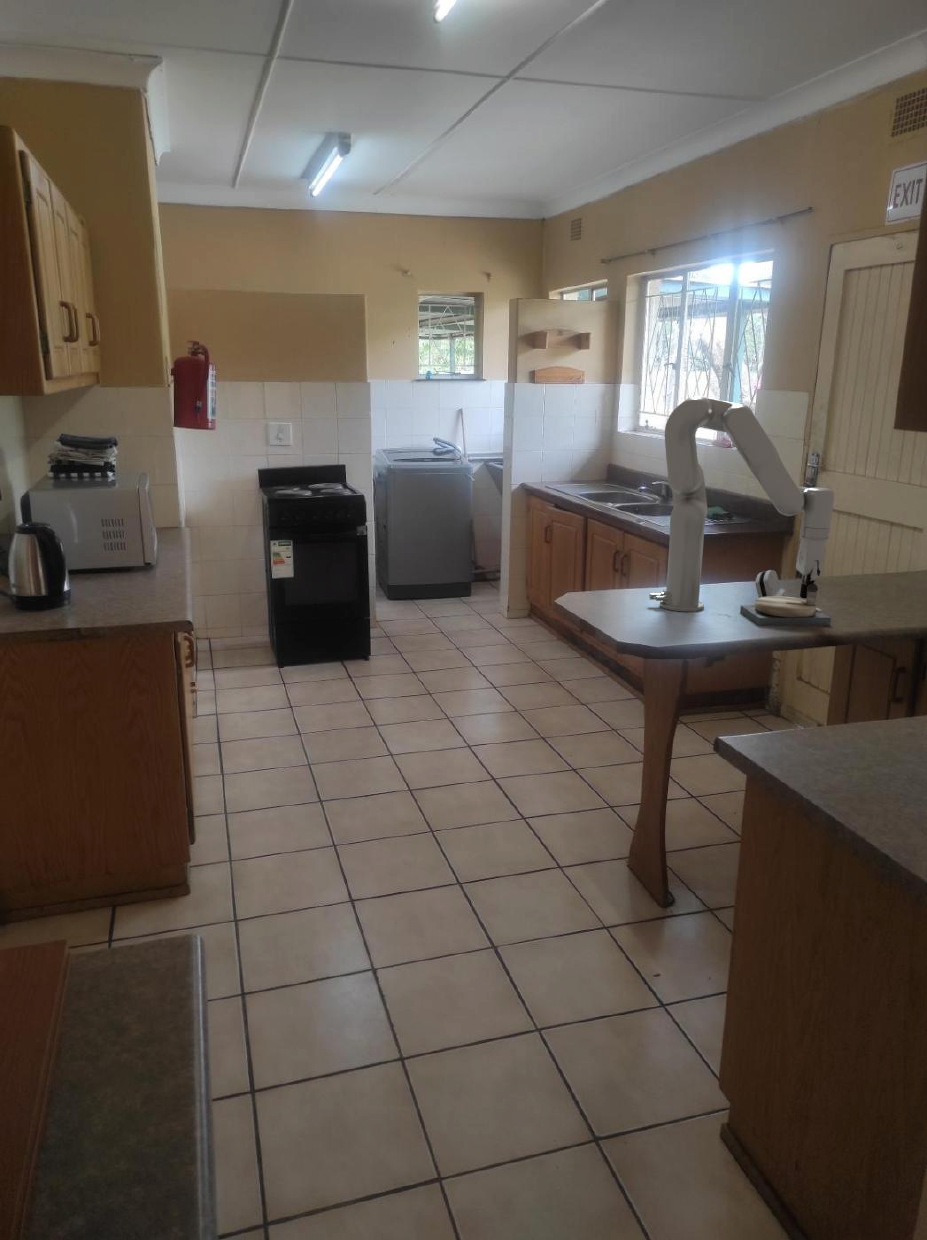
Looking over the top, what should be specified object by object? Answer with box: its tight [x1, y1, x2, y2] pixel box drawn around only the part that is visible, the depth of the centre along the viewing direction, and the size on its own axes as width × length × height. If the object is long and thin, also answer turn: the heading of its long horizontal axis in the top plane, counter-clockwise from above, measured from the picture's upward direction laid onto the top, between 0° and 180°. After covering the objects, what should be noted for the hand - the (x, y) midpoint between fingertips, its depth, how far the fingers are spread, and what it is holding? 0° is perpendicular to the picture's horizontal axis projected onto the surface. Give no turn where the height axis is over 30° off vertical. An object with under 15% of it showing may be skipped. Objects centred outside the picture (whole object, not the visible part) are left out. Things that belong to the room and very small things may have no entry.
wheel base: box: [739, 604, 832, 627], centre depth 244 cm, size 20×14×3 cm
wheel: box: [754, 583, 819, 617], centre depth 243 cm, size 16×16×8 cm
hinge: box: [755, 569, 787, 598], centre depth 266 cm, size 17×5×10 cm, turn 152°
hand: (806, 597), depth 245 cm, fingers closed
